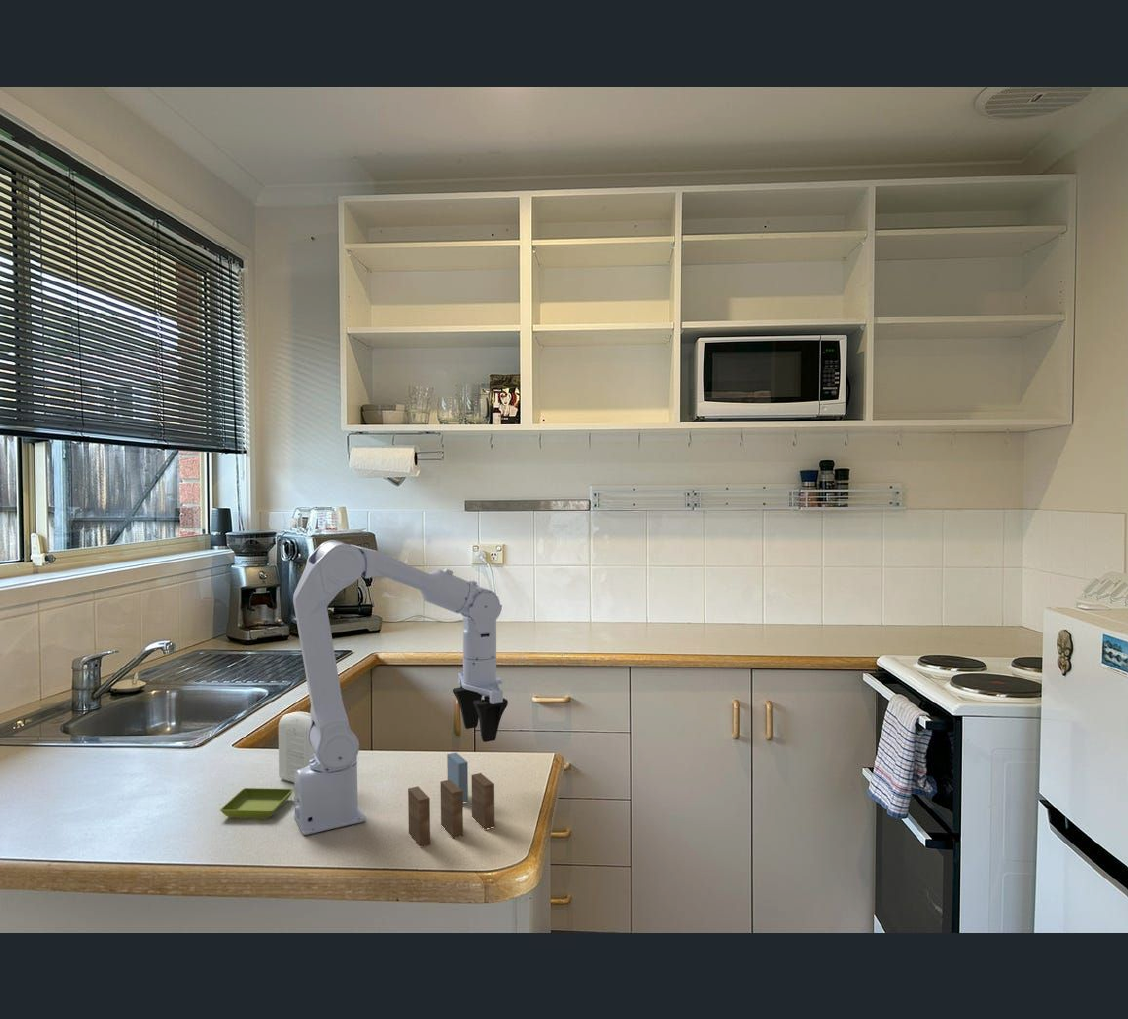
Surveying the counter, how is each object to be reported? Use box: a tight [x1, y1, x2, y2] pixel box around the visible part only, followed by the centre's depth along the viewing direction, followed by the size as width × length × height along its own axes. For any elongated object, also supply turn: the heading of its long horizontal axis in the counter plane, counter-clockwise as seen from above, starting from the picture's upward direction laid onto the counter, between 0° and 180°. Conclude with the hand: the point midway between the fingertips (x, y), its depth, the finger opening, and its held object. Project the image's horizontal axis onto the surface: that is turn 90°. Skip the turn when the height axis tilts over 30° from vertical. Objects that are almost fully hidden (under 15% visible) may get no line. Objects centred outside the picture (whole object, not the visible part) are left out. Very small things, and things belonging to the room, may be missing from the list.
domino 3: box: [471, 772, 495, 830], centre depth 119 cm, size 2×5×7 cm, turn 30°
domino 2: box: [440, 779, 464, 839], centre depth 116 cm, size 2×5×7 cm, turn 30°
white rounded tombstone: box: [278, 711, 315, 783], centre depth 136 cm, size 10×4×12 cm, turn 60°
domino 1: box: [407, 786, 431, 847], centre depth 114 cm, size 2×5×7 cm, turn 30°
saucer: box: [219, 787, 294, 819], centre depth 125 cm, size 9×9×2 cm
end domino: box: [446, 752, 469, 803], centre depth 128 cm, size 2×5×7 cm, turn 30°
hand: (479, 733), depth 132 cm, fingers open, 7 cm apart
